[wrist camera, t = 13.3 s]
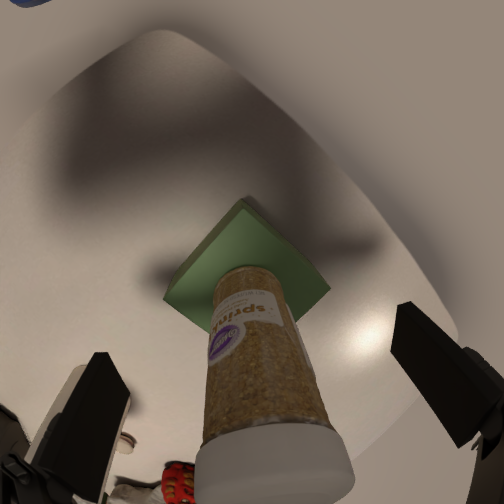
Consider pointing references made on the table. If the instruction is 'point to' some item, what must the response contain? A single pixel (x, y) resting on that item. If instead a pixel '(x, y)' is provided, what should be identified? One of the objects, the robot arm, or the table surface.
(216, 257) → the green block
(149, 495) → the seashell
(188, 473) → the red clay folk toy
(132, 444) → the macaroon
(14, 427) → the speaker
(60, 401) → the cup
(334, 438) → the sprinkles bottle
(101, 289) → the table surface
